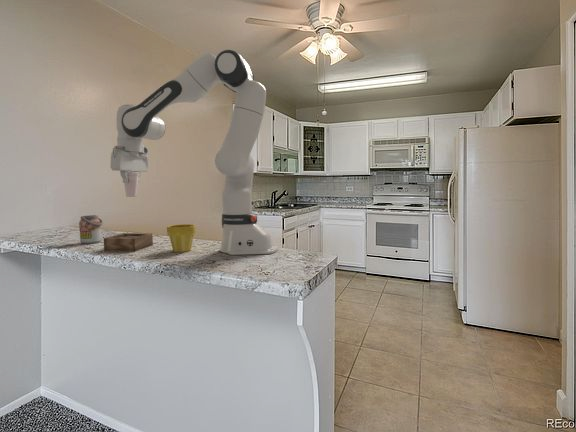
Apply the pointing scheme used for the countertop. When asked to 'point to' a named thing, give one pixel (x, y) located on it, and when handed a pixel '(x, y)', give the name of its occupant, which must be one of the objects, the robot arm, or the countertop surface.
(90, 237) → the decorated jar
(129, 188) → the smoothie
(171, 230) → the plant pot
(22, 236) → the countertop surface
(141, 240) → the box
